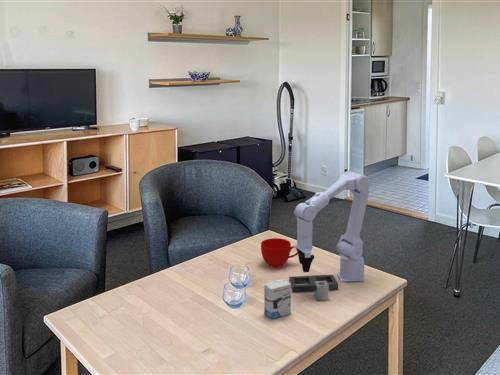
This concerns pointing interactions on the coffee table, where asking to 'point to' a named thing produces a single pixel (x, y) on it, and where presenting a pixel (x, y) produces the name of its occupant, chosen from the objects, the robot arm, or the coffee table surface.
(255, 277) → the coffee table surface
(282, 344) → the coffee table surface
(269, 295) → the ink box
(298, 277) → the dark grey double frame
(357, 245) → the robot arm
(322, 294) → the block
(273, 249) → the ceramic cup
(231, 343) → the coffee table surface
